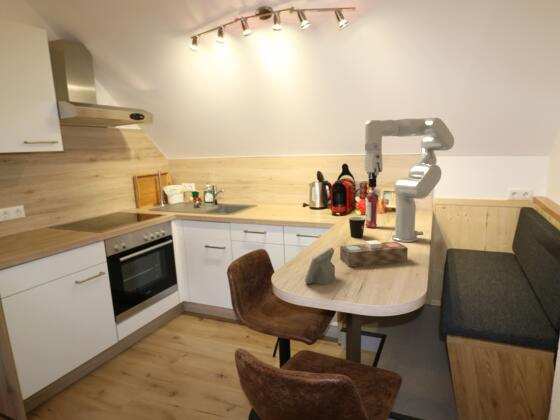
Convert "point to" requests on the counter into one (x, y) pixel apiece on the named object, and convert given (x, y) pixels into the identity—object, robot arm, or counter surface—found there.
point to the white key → (373, 244)
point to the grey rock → (321, 268)
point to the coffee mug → (356, 226)
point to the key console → (373, 255)
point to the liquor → (371, 208)
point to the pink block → (392, 245)
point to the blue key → (353, 248)
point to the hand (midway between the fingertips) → (372, 187)
